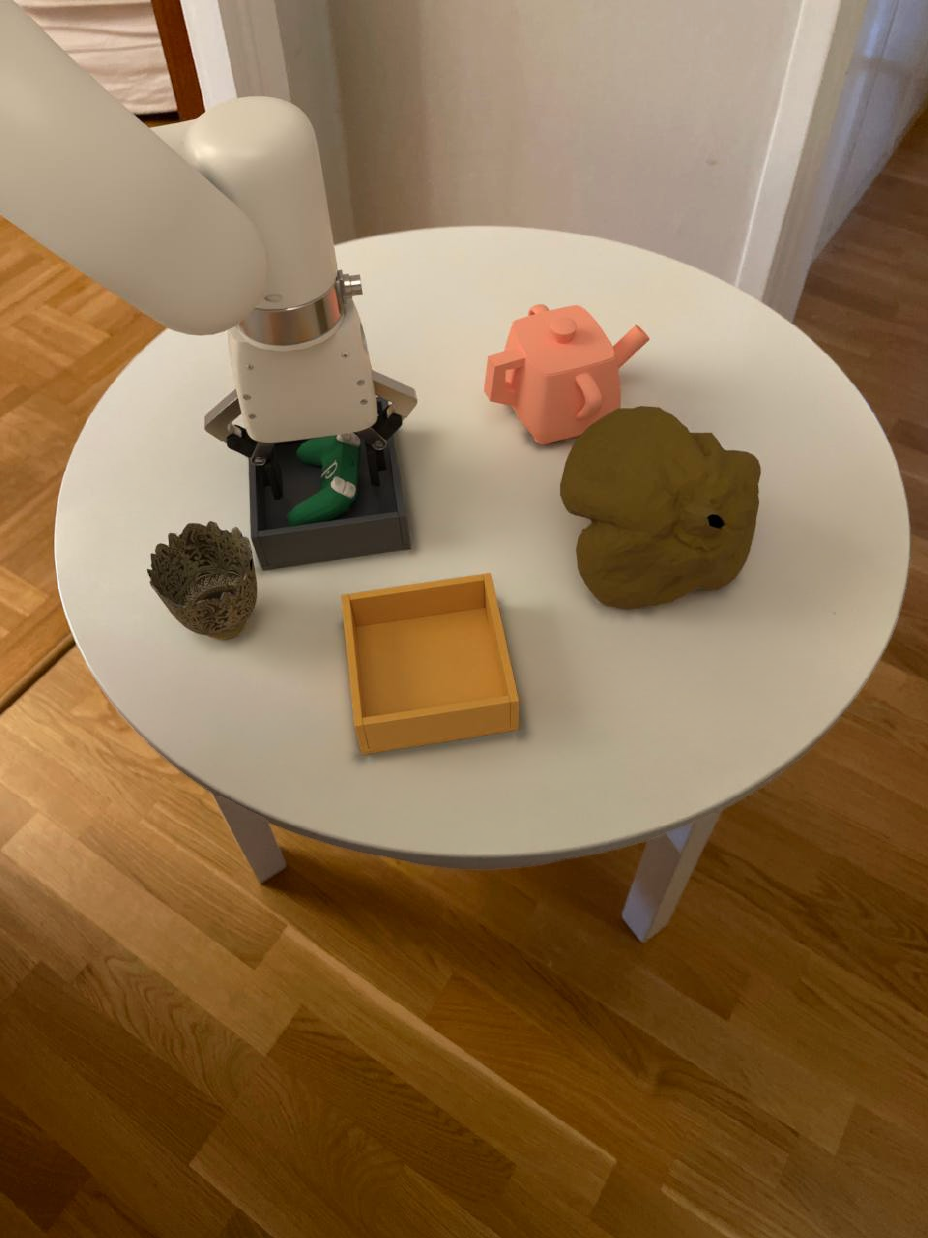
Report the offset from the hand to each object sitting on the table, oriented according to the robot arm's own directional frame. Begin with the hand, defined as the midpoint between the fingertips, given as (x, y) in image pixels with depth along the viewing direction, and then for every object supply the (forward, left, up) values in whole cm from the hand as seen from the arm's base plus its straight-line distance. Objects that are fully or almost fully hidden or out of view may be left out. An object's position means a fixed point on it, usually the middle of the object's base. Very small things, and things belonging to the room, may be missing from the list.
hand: (326, 480), depth 78 cm
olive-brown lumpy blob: (+25, -13, -2) cm, 28 cm away
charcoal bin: (0, 0, -2) cm, 2 cm away
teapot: (+22, +6, -2) cm, 23 cm away
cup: (-9, -12, -2) cm, 15 cm away
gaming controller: (0, 0, -2) cm, 2 cm away
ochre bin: (+6, -19, -2) cm, 20 cm away
